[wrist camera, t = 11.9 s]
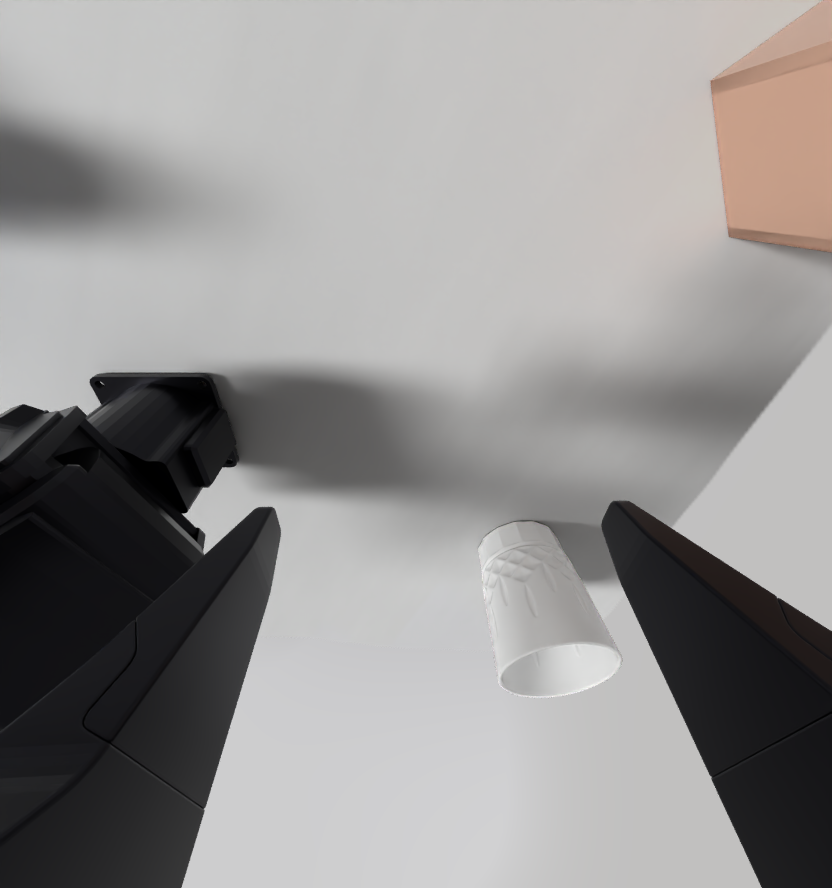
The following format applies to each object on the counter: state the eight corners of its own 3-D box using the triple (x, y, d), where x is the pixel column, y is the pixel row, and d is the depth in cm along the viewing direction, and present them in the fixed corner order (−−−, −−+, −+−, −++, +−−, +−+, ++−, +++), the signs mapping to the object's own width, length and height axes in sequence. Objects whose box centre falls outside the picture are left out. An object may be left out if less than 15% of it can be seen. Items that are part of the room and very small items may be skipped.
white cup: (551, 502, 28) (615, 630, 20) (570, 557, 33) (628, 681, 24) (457, 533, 30) (481, 663, 22) (487, 583, 34) (516, 706, 26)
